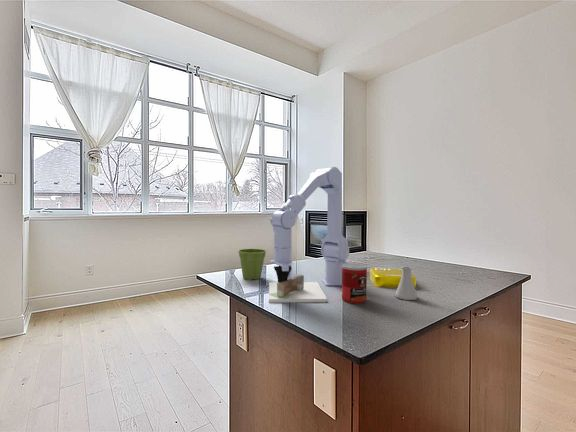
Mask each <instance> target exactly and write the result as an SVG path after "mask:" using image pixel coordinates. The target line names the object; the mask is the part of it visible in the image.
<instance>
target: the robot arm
mask: <svg viewBox="0 0 576 432" xmlns="http://www.w3.org/2000/svg"><path fill="white" fill-rule="evenodd" d="M318 188H319V189H321V190H323V191H324V192H325V193H326V194H327V218H326V219H327V221H326V222H327V225H326V226H327V227H326V228H327V232H326V233H327V234H326V235H325V237H323V238H322V245H321V246H320V247H321V248H320V253H321V255H322V257H323V259H324V261H325V264H324V266H325V267H324V268H325V269H324V271H325V273H324V278H323V279H322V281H323V283H324V284H325V286H331V287H332V286H335V287H336V286H342V265H343V264H347V263H351V262H350V260H348V257H350V247H349V243H348V242H349V241H348V239H346V237H345V236H343V230H342V229H343V173H342V172H341V171H340V169H339V168H338V167H336V166H332V167H325V168H315V169H313V170H312V172H311V173H310V174H309V178H308V179H307V181H306V182H305V184H304V185H303V186H302V187H301V189H300V190H299V191H298V192H297V194H296V193H294V194H291V195H289V196H288V199H287V201H286V202H285V203H284V204H283V205H281V207H280V209H279V210H276V211H274V212H273V214H272V215H271V218H270V219H269V221H270V225H271V227H272V231H273V259H271V260H269V261H270V264H274V266H273V268H274V271H275V273H276V277H277V282H278V283H279V282H283V281H286V280H289V279H288V278H289V275H290V273H291V271H292V264H293V260H292V235H293V233H292V229H293V227H294V226H295V225H296V223H297V221H296V220H297V218H298V216H299V215H300V214H301V212H302V210H303V209H304V208H305V207H306V200H308V199H309V197H310V196H311V195H313V193H314V192H315V191H316V190H317V189H318ZM275 265H276V266H275Z"/></svg>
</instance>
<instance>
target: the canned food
mask: <svg viewBox="0 0 576 432" xmlns="http://www.w3.org/2000/svg"><path fill="white" fill-rule="evenodd" d="M367 275H368V268H367V265H365V264H363V263H354V262H353V263H352V262H350V263H347V264H343V265H342V285H341V300H343V301H344V302H346V303H349V304H363V303H365V302H366V301H367V300H366V299H367V287H368V286H367V284H368V283H367V281H368V280H367V279H368V276H367Z"/></svg>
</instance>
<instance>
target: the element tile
mask: <svg viewBox="0 0 576 432" xmlns="http://www.w3.org/2000/svg"><path fill="white" fill-rule="evenodd" d="M401 277H402V268H385V267H384V268H383V267H371V268H370V269H369V279H370V281H371V282H373V283H372V284H373V285H374V286H375V287H377V288H396V289H397V288H398V286H399V283H400V281H401ZM411 277H412V281H413V284H414V287H416V288H417V276H415V275H413V274H412V273H411Z"/></svg>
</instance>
